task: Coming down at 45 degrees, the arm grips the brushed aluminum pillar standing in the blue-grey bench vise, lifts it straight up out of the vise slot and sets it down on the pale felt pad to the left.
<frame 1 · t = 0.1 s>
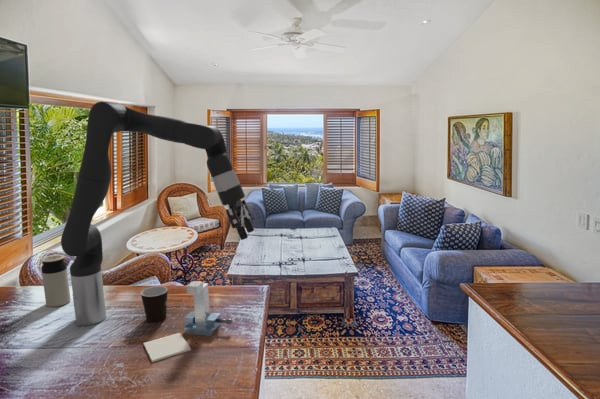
hand: (248, 235, 124), 31 cm above the table, tool tilted 20°, fingers open, 8 cm apart
vise: (203, 328, 130), on the table
travel mug: (58, 303, 150), on the table
felt pad: (166, 347, 118), on the table
brushed aluminum pillar: (202, 322, 129), point 2 cm above the table, touching vise
coffee mug: (158, 316, 138), on the table
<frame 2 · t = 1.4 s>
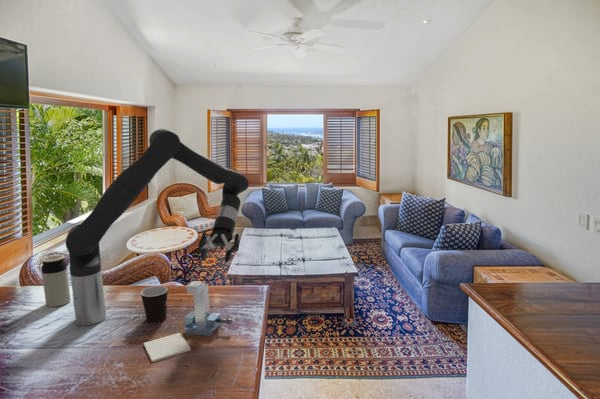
hand: (214, 260, 137), 19 cm above the table, tool tilted 45°, fingers open, 8 cm apart
nothing on the table moved.
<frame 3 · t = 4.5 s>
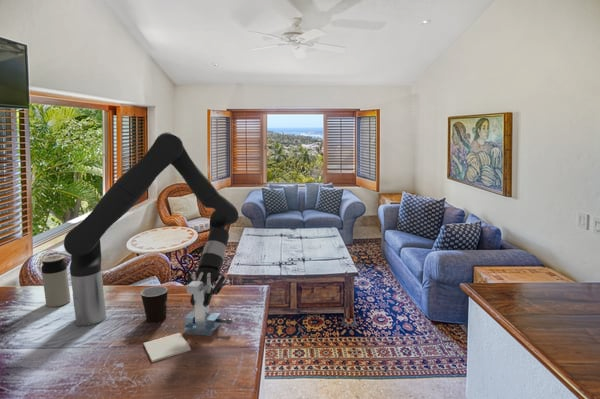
hand: (199, 305, 126), 9 cm above the table, tool tilted 45°, fingers closed on brushed aluminum pillar, 3 cm apart
brushed aluminum pillar: (202, 322, 129), point 2 cm above the table, touching gripper, vise
everything else where it was.
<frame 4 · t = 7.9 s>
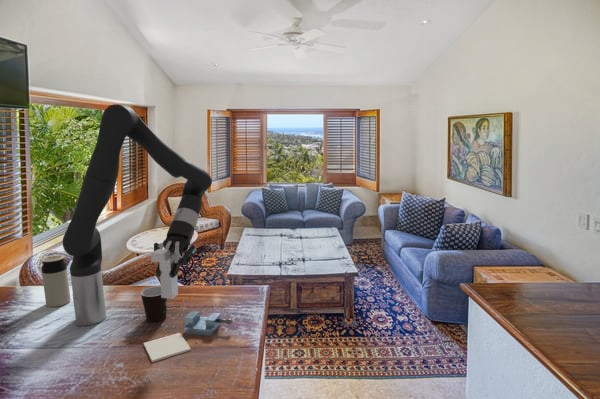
hand: (165, 276, 115), 22 cm above the table, tool tilted 45°, fingers closed on brushed aluminum pillar, 3 cm apart
brushed aluminum pillar: (169, 295, 118), point 15 cm above the table, touching gripper
everything else where it was.
when the fingers open (9 cm above the table, at t = 11.1 s): brushed aluminum pillar drops 1 cm, resting on felt pad.
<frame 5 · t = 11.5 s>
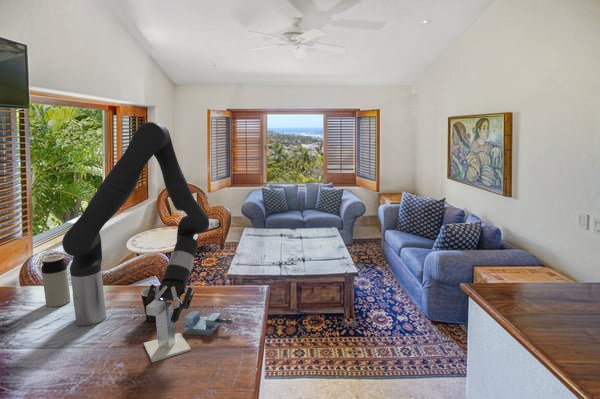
hand: (161, 320, 115), 9 cm above the table, tool tilted 45°, fingers open, 6 cm apart
brushed aluminum pillar: (166, 345, 119), point 1 cm above the table, touching felt pad
everything else where it was.
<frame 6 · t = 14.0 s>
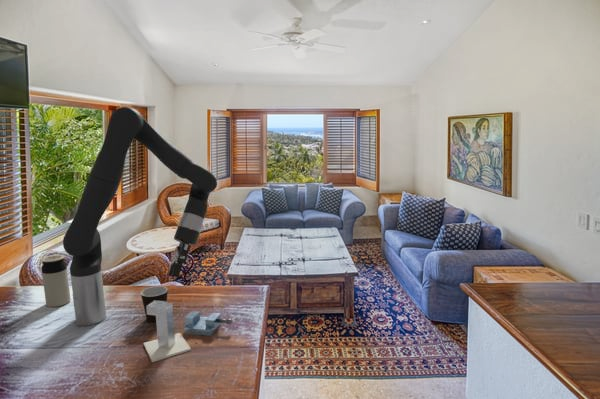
hand: (173, 276, 127), 18 cm above the table, tool tilted 30°, fingers open, 8 cm apart
nothing on the table moved.
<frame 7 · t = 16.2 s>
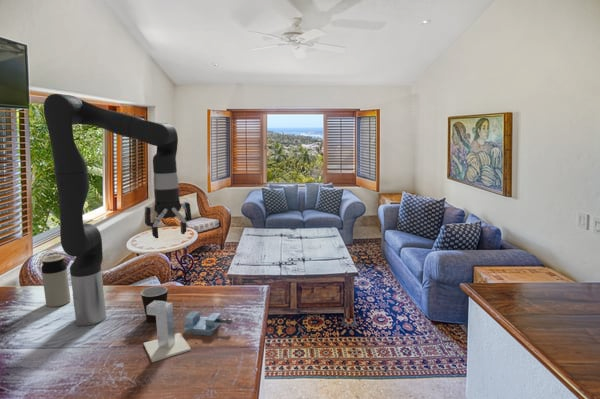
hand: (169, 235, 129), 30 cm above the table, tool pointing down, fingers open, 8 cm apart
nothing on the table moved.
at the end: brushed aluminum pillar inside the target area on the felt pad (0.2 cm from its centre), point 0.6 cm above the felt pad's base; the gripper is holding nothing; brushed aluminum pillar moved 13.8 cm from its start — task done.
